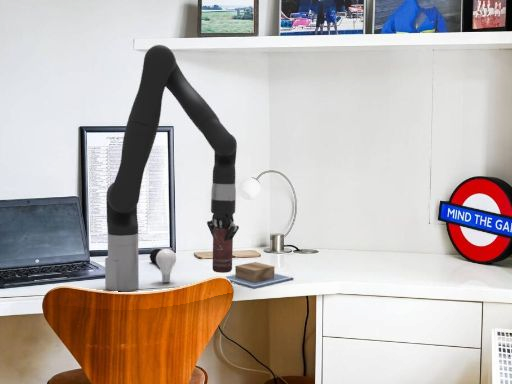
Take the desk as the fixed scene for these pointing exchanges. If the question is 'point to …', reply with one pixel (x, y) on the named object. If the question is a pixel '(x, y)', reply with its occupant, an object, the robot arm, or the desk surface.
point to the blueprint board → (277, 279)
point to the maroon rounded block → (222, 251)
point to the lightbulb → (166, 263)
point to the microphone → (154, 255)
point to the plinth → (254, 272)
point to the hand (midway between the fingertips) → (221, 253)
